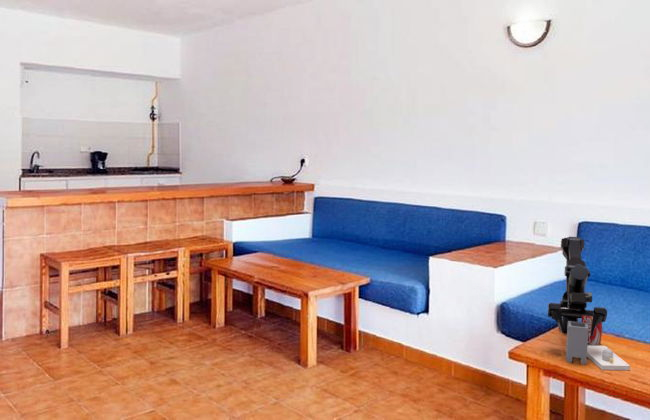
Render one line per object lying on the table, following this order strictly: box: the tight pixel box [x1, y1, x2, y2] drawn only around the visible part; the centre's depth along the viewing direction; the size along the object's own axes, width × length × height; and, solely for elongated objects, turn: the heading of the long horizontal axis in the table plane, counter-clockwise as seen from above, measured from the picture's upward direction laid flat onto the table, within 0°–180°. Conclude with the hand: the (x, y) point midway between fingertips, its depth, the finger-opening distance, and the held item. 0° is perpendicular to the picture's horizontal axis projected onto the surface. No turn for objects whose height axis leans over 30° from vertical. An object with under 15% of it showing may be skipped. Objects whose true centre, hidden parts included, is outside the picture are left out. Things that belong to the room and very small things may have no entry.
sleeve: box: [565, 321, 589, 365], centre depth 195 cm, size 6×6×12 cm
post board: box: [587, 345, 631, 371], centre depth 196 cm, size 18×9×5 cm, turn 178°
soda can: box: [580, 309, 603, 346], centre depth 210 cm, size 7×7×12 cm
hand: (577, 334), depth 196 cm, fingers open, 9 cm apart
